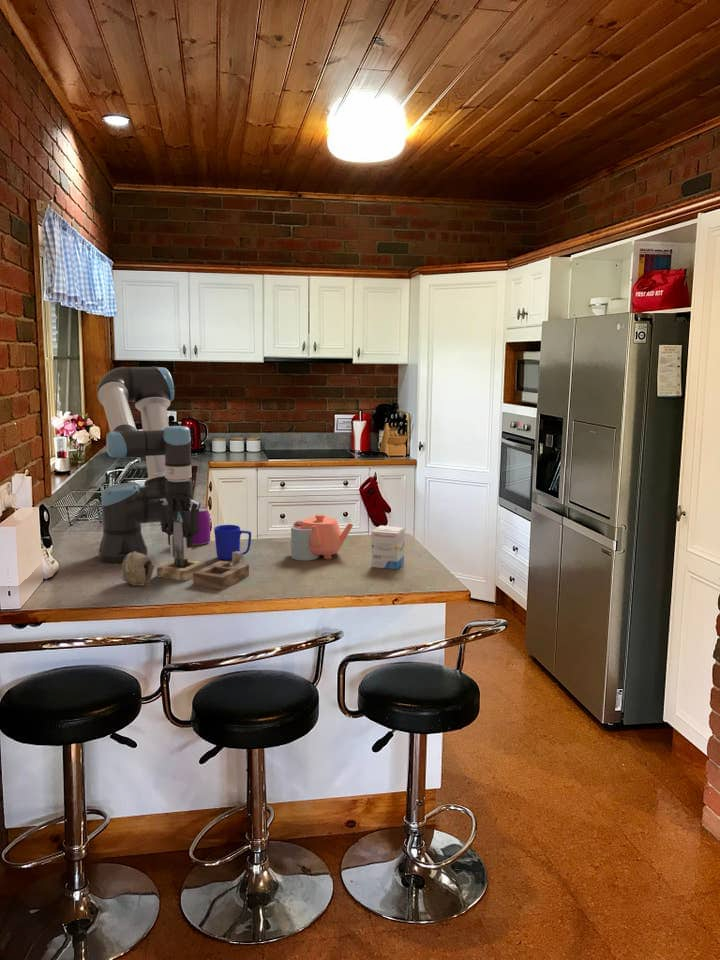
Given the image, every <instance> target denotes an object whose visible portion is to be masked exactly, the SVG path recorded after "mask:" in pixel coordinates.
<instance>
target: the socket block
mask: <svg viewBox="0 0 720 960" xmlns="http://www.w3.org/2000/svg"><path fill="white" fill-rule="evenodd" d="M249 565H250V564H248V563H244V564H241V563H238V564H236V565H234V566H232V567H230V568H229V566H231V561H228V560H218V561H216V562H214V563H212V564H209V565H208V566H207V565H206V566H205V568H203V569H201V570H199V571H197V572H194V573H193V578H192V579H193V580H192V584H193V586H197V585H199V586H198V587H203V586H205V588H210V589H217V590H226V589H227V588H229V587H231V586H233V585H235V584H236V583H238V582H240V581H242V580H245V579H246V578H248V577H249V576H250V570H249V569H250V566H249Z"/></svg>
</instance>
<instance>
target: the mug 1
mask: <svg viewBox="0 0 720 960" xmlns="http://www.w3.org/2000/svg"><path fill="white" fill-rule="evenodd" d="M213 529H214V541H215V542H214V543H215V551H216V552H215V553H216V556H217V558H218V559H220V560H222V559H223V560H222V561H231V560H232V553H233V552H235V551H240V552H243V554H244V555H246V554H248V552H249V551H250V548H251V543H252V542H251V541H252V531H249V530H242V529H241V527H240V526H238V525H236V524H222V525H217V526H215V527H214V528H213ZM242 534H248V540H247V541H248V543H247V547H246V550H245V551H241V535H242Z"/></svg>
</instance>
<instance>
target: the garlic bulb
mask: <svg viewBox="0 0 720 960" xmlns="http://www.w3.org/2000/svg"><path fill="white" fill-rule="evenodd" d="M154 569H155V565H154V564H153V562H152V560H151V558H150V557H149V556H148V555H147V556H146V555H144V554H141V553H138V552H135V551H134V552H133V553H129V554H128V555H127V556H126V557H125V558H124V560H123V563H121V572H122V576H121V580H122V581H123V582H126V583H128V584H130V585H131V586H146V585H147V584H148V583H149V582H150V580H151V579H152V576H153V571H154Z"/></svg>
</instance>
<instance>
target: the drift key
mask: <svg viewBox="0 0 720 960" xmlns="http://www.w3.org/2000/svg"><path fill="white" fill-rule="evenodd" d="M240 551H241V550H240ZM240 551H235V552H233V553H232V564H230V566H229V568H230V567H232V566H234V565H236V564H238V563H241V564H245V563H244V559H245V557H244V555H245V554H243V552H244V551H241V552H240Z"/></svg>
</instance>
